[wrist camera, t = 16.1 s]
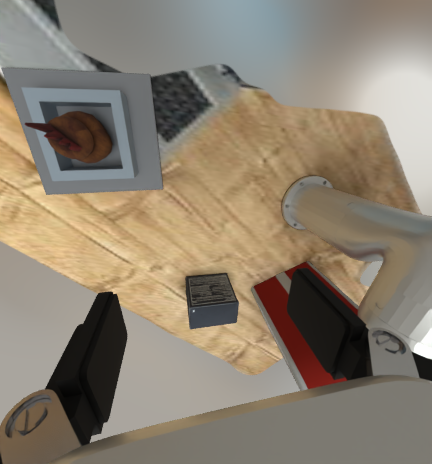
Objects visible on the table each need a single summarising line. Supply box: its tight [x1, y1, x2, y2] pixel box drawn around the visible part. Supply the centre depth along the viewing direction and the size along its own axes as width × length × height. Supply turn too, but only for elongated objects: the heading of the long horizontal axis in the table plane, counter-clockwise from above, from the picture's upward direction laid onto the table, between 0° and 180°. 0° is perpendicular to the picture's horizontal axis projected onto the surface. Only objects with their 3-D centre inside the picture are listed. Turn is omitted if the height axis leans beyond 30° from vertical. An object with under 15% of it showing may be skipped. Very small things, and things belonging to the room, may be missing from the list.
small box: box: [185, 273, 239, 329], centre depth 48 cm, size 11×6×10 cm, turn 88°
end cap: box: [2, 68, 163, 195], centre depth 33 cm, size 20×18×6 cm
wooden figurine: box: [25, 111, 113, 164], centre depth 27 cm, size 7×6×15 cm
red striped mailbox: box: [251, 261, 359, 391], centre depth 47 cm, size 16×18×27 cm
